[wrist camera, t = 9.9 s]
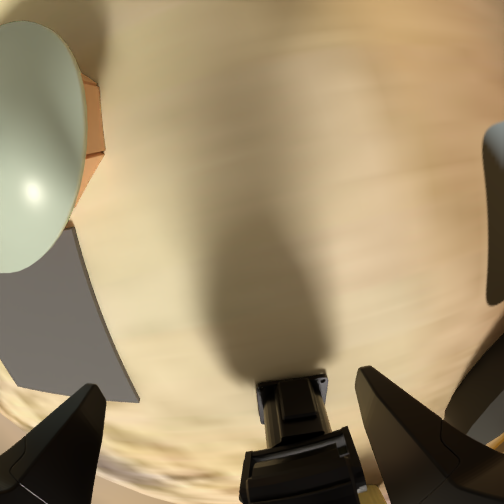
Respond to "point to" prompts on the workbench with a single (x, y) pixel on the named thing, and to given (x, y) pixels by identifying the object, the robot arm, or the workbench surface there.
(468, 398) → the chair
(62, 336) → the mat
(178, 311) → the workbench surface
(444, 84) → the workbench surface
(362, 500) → the potted cactus
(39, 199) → the pale green round piece
